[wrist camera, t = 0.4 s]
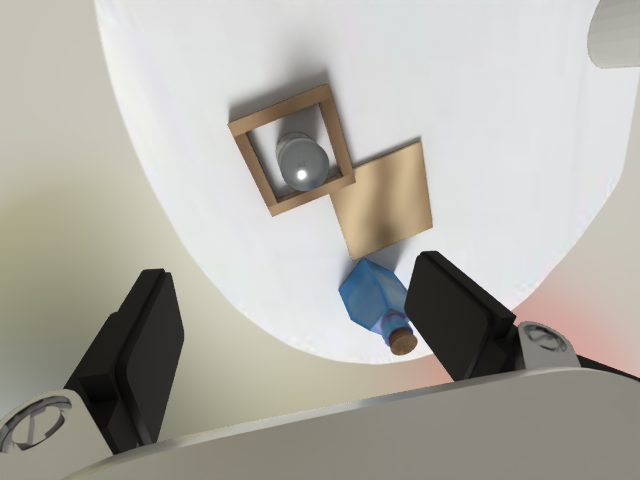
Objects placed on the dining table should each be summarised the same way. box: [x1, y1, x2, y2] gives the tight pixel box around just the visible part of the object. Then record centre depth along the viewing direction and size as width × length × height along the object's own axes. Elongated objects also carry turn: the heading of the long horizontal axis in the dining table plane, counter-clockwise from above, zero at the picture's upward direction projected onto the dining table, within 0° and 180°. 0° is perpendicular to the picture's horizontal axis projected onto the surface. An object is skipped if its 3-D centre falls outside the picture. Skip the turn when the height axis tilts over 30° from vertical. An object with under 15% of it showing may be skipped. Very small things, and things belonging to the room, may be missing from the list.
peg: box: [276, 132, 329, 191], centre depth 27 cm, size 4×4×6 cm
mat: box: [325, 141, 433, 260], centre depth 35 cm, size 12×12×1 cm
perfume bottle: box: [339, 258, 417, 355], centre depth 35 cm, size 6×6×12 cm
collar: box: [227, 84, 356, 217], centre depth 29 cm, size 10×10×2 cm
